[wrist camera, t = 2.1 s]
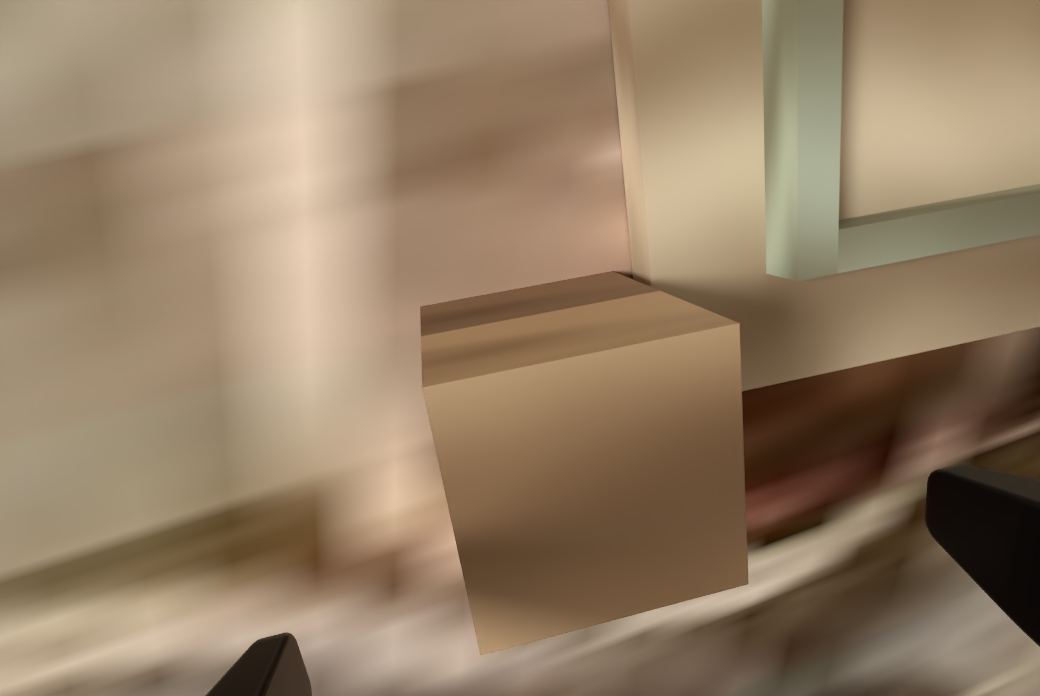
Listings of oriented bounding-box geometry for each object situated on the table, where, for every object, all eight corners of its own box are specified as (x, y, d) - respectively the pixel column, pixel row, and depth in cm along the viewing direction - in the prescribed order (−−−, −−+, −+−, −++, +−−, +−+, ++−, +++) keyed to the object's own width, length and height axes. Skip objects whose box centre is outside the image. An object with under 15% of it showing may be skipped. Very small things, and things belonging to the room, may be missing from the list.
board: (1126, 289, 17) (1233, 305, 15) (643, 392, 15) (681, 427, 13) (1249, -394, 13) (1431, -522, 10) (574, -373, 11) (617, -526, 8)
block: (629, 443, 16) (748, 584, 10) (457, 482, 15) (481, 656, 10) (612, 270, 14) (739, 323, 9) (420, 306, 14) (422, 387, 8)
